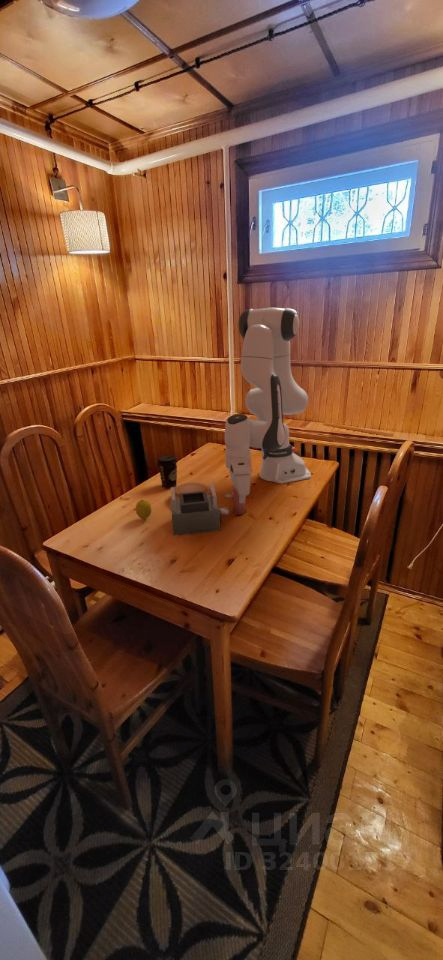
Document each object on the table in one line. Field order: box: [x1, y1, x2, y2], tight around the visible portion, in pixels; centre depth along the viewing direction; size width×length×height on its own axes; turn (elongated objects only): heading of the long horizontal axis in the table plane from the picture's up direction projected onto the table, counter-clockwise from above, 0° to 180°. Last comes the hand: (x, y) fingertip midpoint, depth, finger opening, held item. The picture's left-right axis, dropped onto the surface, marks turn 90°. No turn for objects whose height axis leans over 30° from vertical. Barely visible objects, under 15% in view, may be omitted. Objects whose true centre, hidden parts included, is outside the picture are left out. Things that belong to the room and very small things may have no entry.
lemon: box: [135, 498, 152, 520], centre depth 149 cm, size 6×6×8 cm
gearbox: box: [170, 483, 230, 536], centre depth 143 cm, size 20×12×13 cm, turn 98°
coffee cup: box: [156, 454, 178, 490], centre depth 174 cm, size 9×8×13 cm
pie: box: [174, 482, 210, 499], centre depth 163 cm, size 15×16×5 cm
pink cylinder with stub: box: [224, 487, 247, 516], centre depth 151 cm, size 8×5×10 cm, turn 98°
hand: (238, 496), depth 150 cm, fingers open, 8 cm apart
